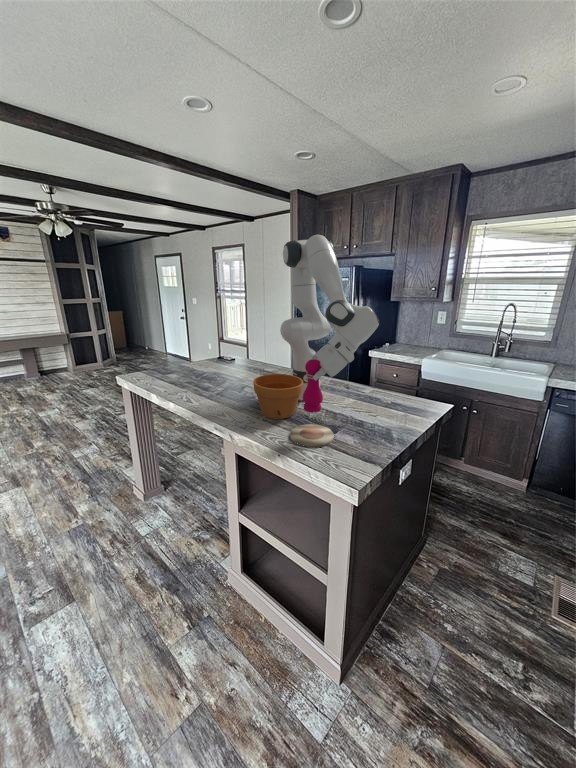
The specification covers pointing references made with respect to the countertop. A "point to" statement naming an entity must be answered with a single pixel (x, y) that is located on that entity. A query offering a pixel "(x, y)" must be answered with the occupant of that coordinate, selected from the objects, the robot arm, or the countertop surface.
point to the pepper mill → (312, 387)
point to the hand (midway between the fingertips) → (311, 376)
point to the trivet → (312, 435)
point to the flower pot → (278, 394)
